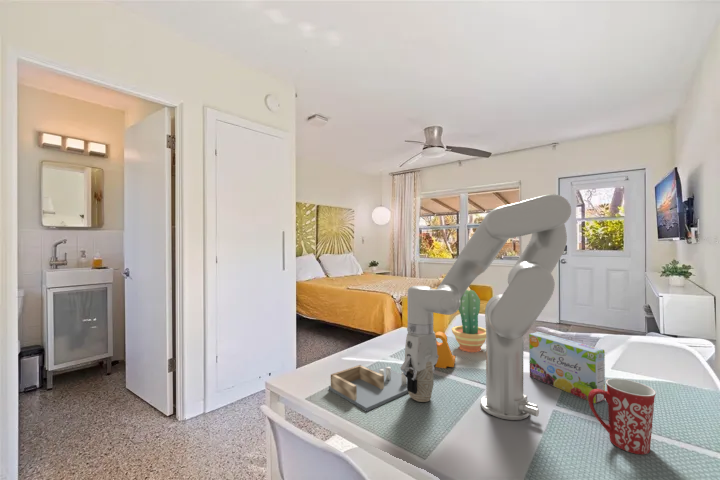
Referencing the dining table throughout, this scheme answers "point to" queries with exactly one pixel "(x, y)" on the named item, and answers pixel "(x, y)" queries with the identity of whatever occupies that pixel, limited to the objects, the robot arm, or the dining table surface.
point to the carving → (423, 384)
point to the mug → (627, 414)
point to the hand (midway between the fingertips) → (420, 387)
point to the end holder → (343, 379)
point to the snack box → (567, 365)
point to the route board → (378, 389)
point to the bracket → (444, 352)
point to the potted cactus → (469, 324)
